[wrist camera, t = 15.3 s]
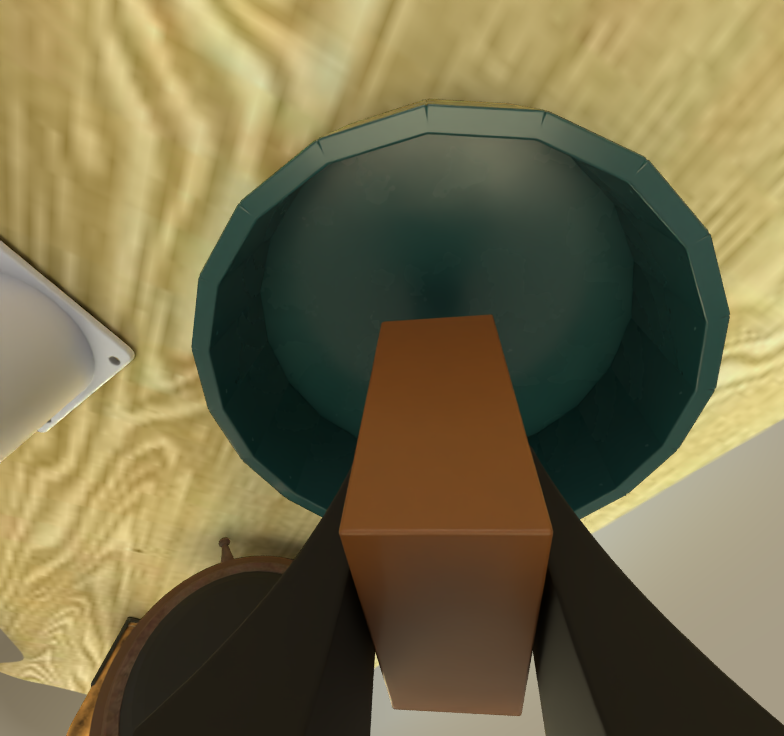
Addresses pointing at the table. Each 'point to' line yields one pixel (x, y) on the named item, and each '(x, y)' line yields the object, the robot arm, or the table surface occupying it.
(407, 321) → the tall brown block
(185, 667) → the alarm clock
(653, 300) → the pot
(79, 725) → the ammunition clip
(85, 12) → the table surface
